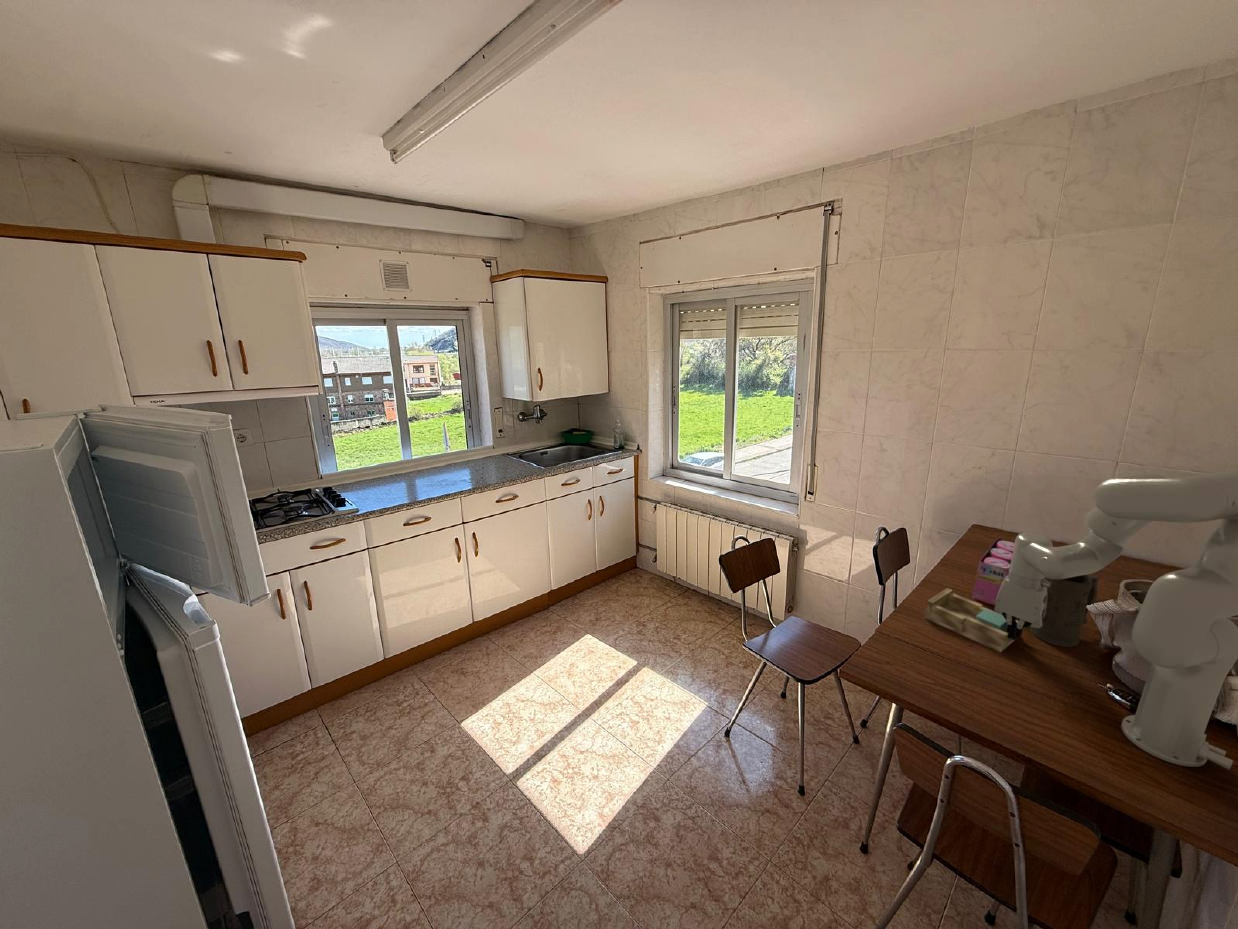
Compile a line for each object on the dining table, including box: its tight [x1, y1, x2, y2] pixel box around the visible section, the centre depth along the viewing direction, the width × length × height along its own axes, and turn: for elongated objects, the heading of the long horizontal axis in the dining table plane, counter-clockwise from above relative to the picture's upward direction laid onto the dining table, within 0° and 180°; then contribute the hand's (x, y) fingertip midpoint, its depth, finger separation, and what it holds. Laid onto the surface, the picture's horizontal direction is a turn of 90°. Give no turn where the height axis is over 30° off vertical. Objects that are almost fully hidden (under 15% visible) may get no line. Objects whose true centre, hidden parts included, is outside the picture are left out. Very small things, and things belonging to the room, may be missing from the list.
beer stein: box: [1029, 574, 1099, 648], centre depth 139 cm, size 15×11×20 cm
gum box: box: [971, 537, 1015, 606], centre depth 163 cm, size 24×8×14 cm, turn 132°
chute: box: [924, 587, 1019, 653], centre depth 145 cm, size 20×12×6 cm, turn 33°
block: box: [975, 608, 1008, 633], centre depth 141 cm, size 6×6×5 cm
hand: (1013, 637), depth 137 cm, fingers closed
